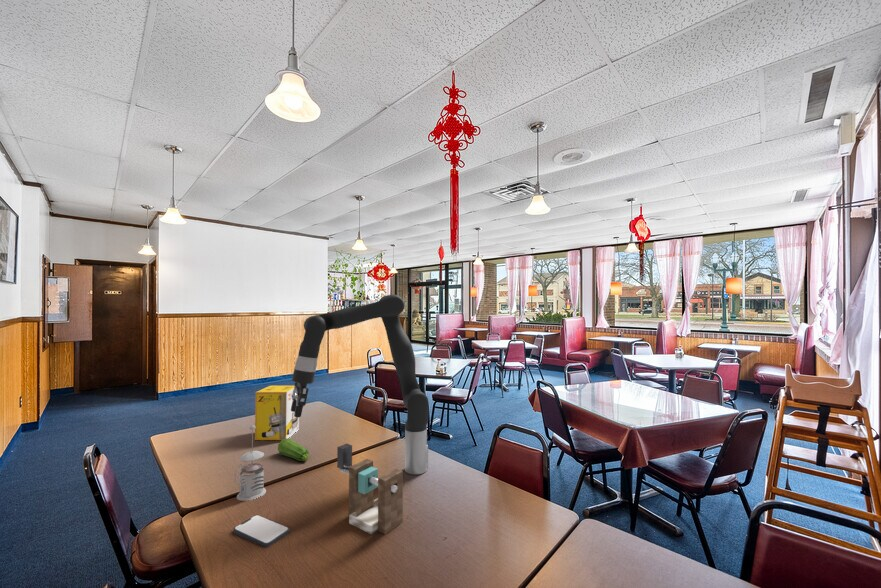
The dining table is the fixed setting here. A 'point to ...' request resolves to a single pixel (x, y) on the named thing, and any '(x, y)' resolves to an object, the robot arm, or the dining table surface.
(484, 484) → the dining table surface
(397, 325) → the robot arm
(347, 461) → the shaft
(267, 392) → the packaging box
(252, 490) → the french press
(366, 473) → the block
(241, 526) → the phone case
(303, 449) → the vegetable
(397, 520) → the bearing frame
